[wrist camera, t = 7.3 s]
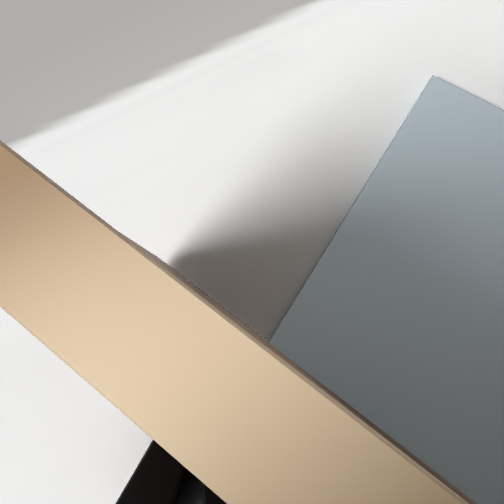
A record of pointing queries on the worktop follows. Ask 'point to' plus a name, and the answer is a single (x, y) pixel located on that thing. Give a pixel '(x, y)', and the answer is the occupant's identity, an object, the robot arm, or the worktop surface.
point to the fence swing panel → (188, 363)
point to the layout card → (420, 294)
